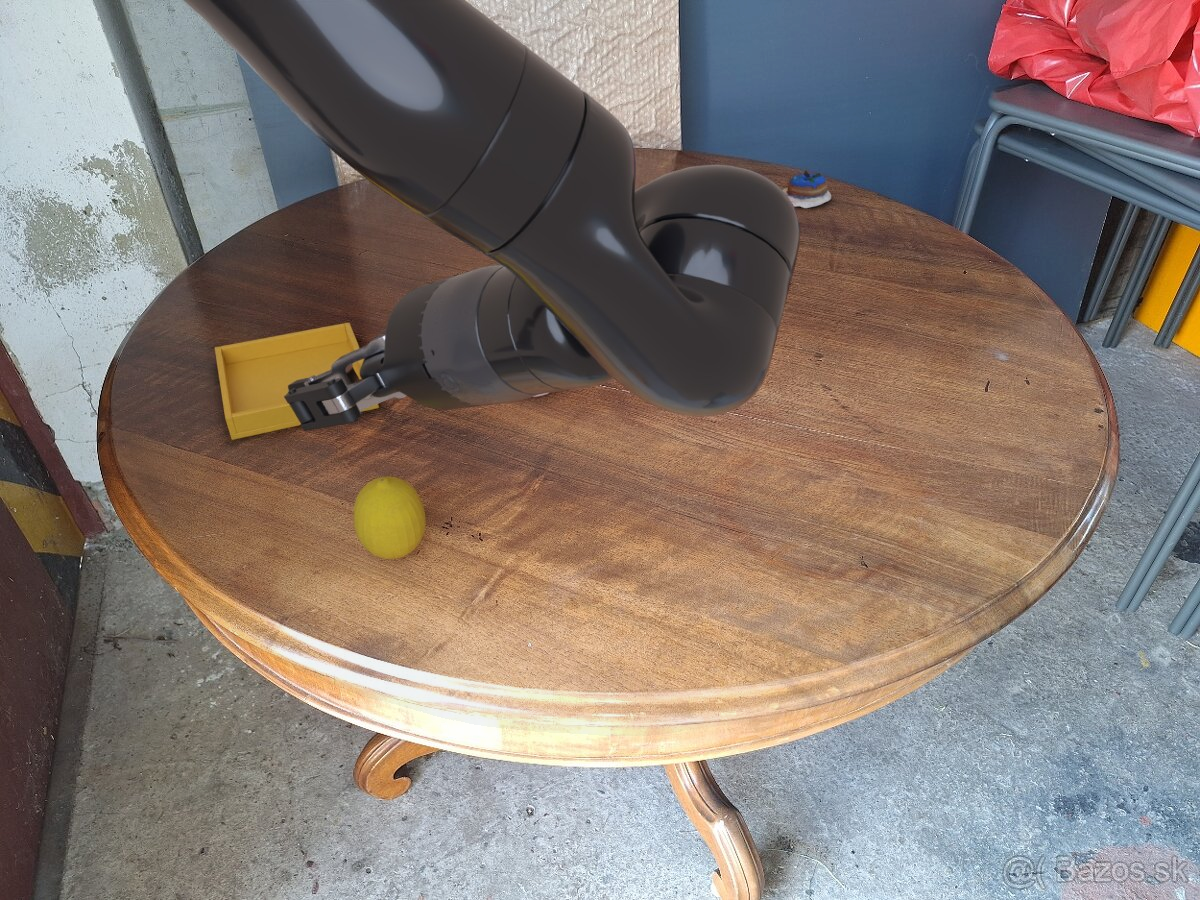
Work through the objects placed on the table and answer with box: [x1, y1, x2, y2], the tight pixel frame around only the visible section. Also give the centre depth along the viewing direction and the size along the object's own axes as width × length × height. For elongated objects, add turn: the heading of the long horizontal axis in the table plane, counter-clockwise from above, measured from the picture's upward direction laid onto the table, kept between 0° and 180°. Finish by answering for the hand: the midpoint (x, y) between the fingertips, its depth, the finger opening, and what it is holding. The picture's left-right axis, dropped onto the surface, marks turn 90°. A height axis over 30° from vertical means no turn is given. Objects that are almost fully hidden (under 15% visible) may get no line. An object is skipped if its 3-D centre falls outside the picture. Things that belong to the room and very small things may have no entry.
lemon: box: [352, 475, 427, 560], centre depth 71 cm, size 6×6×8 cm
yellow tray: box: [214, 322, 380, 441], centre depth 93 cm, size 14×14×3 cm
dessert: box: [782, 170, 832, 209], centre depth 135 cm, size 8×7×6 cm
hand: (348, 367), depth 62 cm, fingers open, 8 cm apart
